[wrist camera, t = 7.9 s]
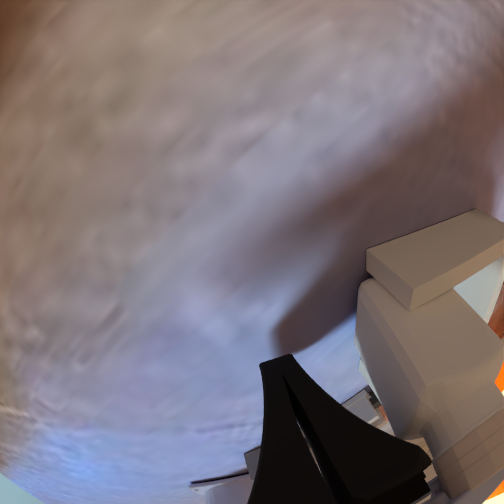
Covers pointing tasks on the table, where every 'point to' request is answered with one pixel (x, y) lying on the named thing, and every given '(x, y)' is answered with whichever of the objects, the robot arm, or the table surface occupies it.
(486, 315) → the end holder
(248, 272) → the table surface
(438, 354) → the pepper shaker
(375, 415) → the clips
